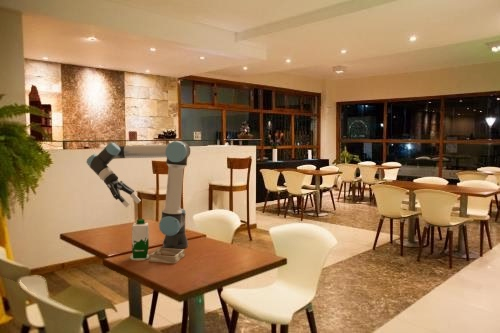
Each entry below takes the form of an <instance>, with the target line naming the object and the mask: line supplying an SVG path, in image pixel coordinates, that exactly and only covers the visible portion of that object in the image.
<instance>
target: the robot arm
mask: <svg viewBox="0 0 500 333" xmlns="http://www.w3.org/2000/svg"><path fill="white" fill-rule="evenodd" d="M190 155H191V147H190V145H189V144H188V142H186V141H183V140H182V141H181V140H174V141H171V142H167V144H153V145H152V144H149V145H148V144H146V145H145V144H144V145H118V144H116V143H115V142H112V141H111V142H109V143H108V144H107V145H105V147H104V148H103V149H102V150H101V151H100V152H99V153H98V154H96V153H94V154H91V155H90V156H89V157H88V158H87V159H86V161H85V162H86V165H88V166H89V168H90V169H91V170H92V171H93V172H94V173H95V174H96V175H97V176H98V178H100V180H101V181H103V182H104V184H105V185H106V187H107V188H108V190H109V191H110V194H111V196H112V197H113V199H115V200H118V201H119V202H120V203H121V204H122V205H123V206H124V207H125V208H128V207H129V206H130V202H129V201H127V199H126V198H125V197H124V196H123V195H122V194H121V192H120V191H122V192H124V193H126V194H128V195H129V197H130V198H132V200H133V201H134V202H135V203H136V204H139V203H140V202H141V201H142V200H141V199H140V198H139V197H138V196H137V195H136V193H135V190H134V189H133V188H131V187H130V186H129V185H127V183H124V181H122V180H120V181H119V177H118V175H117V174H116V173H114V171H113V170H112V169H111V168H110V167H109V166H108V165H109V164H110V163H111V161H113V160H116V159H117V160H118V159H150V158H151V159H155V158H156V159H158V158H166V165H167V166H168V167H167V168H168V170H167V172H168V173H167V181H166V193H165V202H164V203H165V206H164V208H163V209H162V210H161V219H160V221H159V222H158V223H159V225H158V229H159V231H160V232H161V233H162V234H163V235H164V238H163V242H162V248H170V249H184V248H187V247H188V246H189V241H188V238H187V235H186V234H187V233H186V214H187V213H186V210H185V209H184V208H181V205H182V204H181V202H182V192H183V179H184V170H185V167H187V166H188V158H189V157H190Z"/></svg>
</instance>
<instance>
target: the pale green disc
mask: <svg viewBox="0 0 500 333" xmlns="http://www.w3.org/2000/svg"><path fill="white" fill-rule="evenodd" d="M149 255H150V254H149V253H147V258H133V254H132V255H130V256H129V259H130V261H131V260H132V261H136V262H137V261H138V262H139V261H146V260H149Z"/></svg>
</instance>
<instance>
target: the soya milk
mask: <svg viewBox="0 0 500 333" xmlns="http://www.w3.org/2000/svg"><path fill="white" fill-rule="evenodd" d="M145 220H146V219H144V218H139V219H136V222H134V223H133V224H132V228H131V231H132V232H131V251H132V255H133V258H147V254H149V253H148V252H149V248H150V247H149V246H150V245H149V243H150V242H149V241H150V240H149V239H150V233H149V231H150V230H149V229H150V227H149V222H145Z"/></svg>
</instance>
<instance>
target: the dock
mask: <svg viewBox="0 0 500 333" xmlns="http://www.w3.org/2000/svg"><path fill="white" fill-rule="evenodd" d="M185 252H186V251H185V249H184V248H181V249H170V248H164V247H159V248H158V249H156V250H155V251H152V252H151V253H150V254H149V259H148V261H149V262H150V263H151V262H152V263H153V262H154V263H164V264H176V263H178V262H179V261H180V260H182V258H183V257H185Z"/></svg>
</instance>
